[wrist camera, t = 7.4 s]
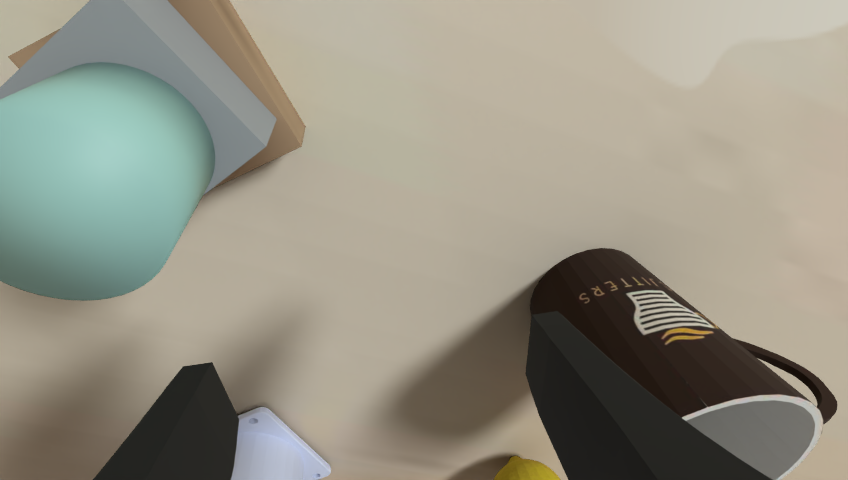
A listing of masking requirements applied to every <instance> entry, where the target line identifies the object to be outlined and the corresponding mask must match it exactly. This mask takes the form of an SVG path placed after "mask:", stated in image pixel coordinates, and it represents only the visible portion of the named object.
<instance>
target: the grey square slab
mask: <svg viewBox="0 0 848 480" xmlns="http://www.w3.org/2000/svg"><path fill="white" fill-rule="evenodd" d="M95 62H108V63H117V64H123V65H127V66H131V67H135V68H138V69H140V70H143V71H145V72H148V73H150V74H152V75H154V76H156V77H158V78H160V79H162V80H163V81H165V82H166V83H168V84H169V85H171V86H172V87H174V88H175V89H176V90H177V91H179V92H180V93H181V94H182V95H183V96H184V97H185V98H186V99H187V100H188V101H189V102H191V104H192V105H193V106H194V107H195V108H196V110H197V111H198V112H199V114H200V115H201V117H202V118H203V120H204V121H205V123H206V125H207V127H208V129H209V131H210V134H211V137H212V140H213V144H214V149H215V169H214V172H213V176H212V179H211V181H210V183H209V185H208V187H207V189H206V191H205V192H204V194H206V193H207V192H208V191H209V190H211V189H212V188H213V187H215V186H216V185H217V184H219V183H220V182H221V181H222V180H224V179H225V178H226V177H228V176H229V175H230V174H231V173H233V172H234V171H235V170H237V169H238V168H239V167H240V166H242V165H243V164H244V163H246V162H247V161H248V160H250V159H251V158H252V157H253V156H255V155H256V154H257V153H259V152H260V151H261V150H262V149H264V148H265V147H266V146H267V143H268V141H269V138H270V135H271V133H272V130H273V128H274V125H275V122H276V120H277V118H276V117H275V116H274V115H273V114H272V113H271V112H270V111H269V110H268V109H267V108H266V107H265V105H264V104H263V103H262V102H261V101H260V100H259V99H258V98H257V97H256V96H255V95H254V94H253V92H252V91H251V90H250V89H249V88H248V87H247V86H246V85H245V84H244V83H243V82H242V81H241V79H240V78H239V77H238V76H237V75H236V74H235V73H234V72H233V71H232V70H231V69H230V68H229V66H228V65H227V64H226V63H225V62H224V61H223V60H222V59H221V58H220V57H219V56H218V55H217V53H216V52H215V51H214V50H213V49H212V48H211V47H210V46H209V45H208V44H207V43H206V42H205V40H204V39H203V38H202V37H201V36H200V35H199V34H198V33H197V32H196V31H195V30H194V29H193V28H192V26H191V25H190V24H189V23H188V22H187V21H186V20H185V19H184V18H183V17H182V16H181V15H180V13H179V12H178V11H177V10H176V9H175V8H174V7H173V6H172V5H171V4H170V3H169V2H168V0H90V1H89V2H88V3H87V4H86V5H85V6H84V7H83V8H82V9H81V10H80V11H79V12H78V13H77V14H75V15H74V16H73V17H72V18H71V19H70V20H69V21H68V22H67V23H66V24H65V25H64V26H63V27H62V28H61V29H60V30H59V31H58V32H57V33H56V34H55V35H54V36H53V37H52V38H51V39H50V40H49V41H48V42H47V43H46V44H45V45H44V46H43V47H42V48H40V49H39V50H38V51H37V52H36V53H35V54H34V55H33V56H32V57H31V58H30V59H29V60H28V61H27V62H26V63H25V64H24V65H23V66H22V67H21V68H20V69H19V70H18V71H17V72H16V73H15V74H14V75H13V76H12V77H11V78H10V79H9V80H8V81H7V82H6V83H4V84H3V85H2V86H1V87H0V99H2V98H5V97H7V96H9V95H11V94H14V93H16V92H18V91H20V90H22V89H25V88H27V87H29V86H31V85H33V84H36V83H38V82H40V81H42V80H44V79H47V78H49V77H51V76H53V75H55V74H58V73H60V72H62V71H64V70H67V69H69V68H71V67H74V66H77V65H81V64H86V63H95ZM204 194H203V195H204Z"/></svg>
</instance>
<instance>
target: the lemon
mask: <svg viewBox="0 0 848 480" xmlns="http://www.w3.org/2000/svg"><path fill="white" fill-rule="evenodd" d="M494 480H560V478H559V477H558V476H557V475H556V474H555V472H554V471H552V470H551V469H550V468H549V467H547V466H546V465H544V464H542V463H540V462H538V461H534V460H530V459H522V458H520V457H518V456H513V457H511V458H510V460H509V462H508V464H507V465H505V466H504V467H503V468H502V469H501V470H500V471H499V472H498V473H497V475H496V476H495V478H494Z"/></svg>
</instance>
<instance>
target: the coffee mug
mask: <svg viewBox="0 0 848 480" xmlns="http://www.w3.org/2000/svg"><path fill="white" fill-rule="evenodd" d="M530 310H531V316H532V315H534V314H541V313H547V312H554V311H558V312H559V313H560V314H561V315H562V316H564V317H565V318H566V319H567V320H568V321H569V322H570V323H571V324H572V325H573V326H574V327H575V328H576V329H578V330H579V331H580V332H581V333H582V334H583V335H584V336H585V337H586V338H587V339H588V340H589V341H591V342H592V343H593V344H594V345H595V346H596V347H597V348H598V349H599V350H600V351H602V352H603V353H604V354H605V355H606V356H607V357H608V358H609V359H611V360H612V361H613V362H614V363H615V364H616V365H617V366H619V367H620V368H621V369H622V370H623V371H624V372H626V373H627V374H628V375H629V376H630V377H631V378H633V379H634V380H635V381H636V382H637V383H638V384H640V385H641V386H642V387H643V388H644V389H646V390H647V391H648V392H649V393H651V394H652V395H653V396H654V397H656V398H657V399H658V400H659V401H661V402H662V403H663V404H664V405H666V406H667V407H668V408H670V409H671V410H672V411H673V412H675V413H676V414H677V415H679V416H680V417H681V418H683V419H684V420H685V421H687V422H688V423H689V424H691V425H692V426H693V427H695V428H696V429H697V430H699V431H700V432H702V433H703V434H704V435H706V436H707V437H709V438H710V439H712V440H713V441H714V442H716V443H717V444H719V445H720V446H722V447H723V448H725V449H726V450H727V451H729V452H730V453H732V454H733V455H735V456H736V457H738V458H739V459H741V460H742V461H744V462H745V463H747V464H749V465H750V466H752V467H753V468H755V469H756V470H758V471H759V472H761V473H763V474H764V475H766V476H768V477H769V478H771V479H773V480H781V479H783V478H784V477H785V476H786V475H788V474H789V473H790V472H792V471H793V470H794V469H795V468H796V467H797V466H798V465H799V464H800V463H801V462H802V461H803V460H804V459H805V458H806V457H807V456H808V455H809V453H810V452H811V451H812V449H813V448H814V447H815V445H816V444H817V442H818V440H819V438H820V435H821V433H822V428H823V424H825V423H826V422H828V421H829V420H830V419H831V417H832V416H833V415H834V414H835V412H836V410H837V401H836V399H835V397H834V395H833V394H832V393H831V392H830V391H829V389H828V388H827V387H826V386H825V384H824V383H823V382H822V381H821V380H820V379H819V378H818V377H816V376H815V375H814V374H813V373H811V372H810V371H808V370H807V369H805V368H804V367H802V366H800V365H798V364H796V363H794V362H792V361H790V360H788V359H786V358H784V357H782V356H780V355H778V354H775V353H773V352H770V351H768V350H765V349H763V348H760V347H757V346H755V345H752V344H749V343H746V342H743V341H740V340H736V339H733V338H731V337H730V336H729V335H727V334H726V333H725V332H724V331H722V330H721V329H720V328H719V327H718V326H716V325H715V324H714V323H713V322H711V321H710V320H709V319H708V318H706V317H705V316H704V315H703V314H701V313H700V312H699V311H698V310H696V309H695V308H694V307H693V306H691V305H690V304H689V303H688V302H687V301H685V300H684V299H683V298H682V297H680V296H679V295H678V294H677V293H675V292H674V291H673V290H672V289H670V288H669V287H668V286H667V285H665V284H664V283H663V282H662V281H660V280H659V279H658V278H657V277H656V276H654V275H653V274H652V273H651V272H649V271H648V270H647V269H646V268H644V267H643V266H642V265H641V264H639V263H638V262H637V261H636V260H634V259H633V258H632V257H631V256H629V255H628V254H626V253H624V252H622V251H619V250H614V249H605V248H599V249H592V250H587V251H584V252H580V253H577V254H575V255H573V256H570V257H568V258H566V259H565V260H563V261H561V262H560V263H558V264H557V265H555V266H554V267H553V268H552V269H551V270H550V271H548V272H547V273H546V274H545V276H544V277H543V278H542V279H541V280H540V281H539V283H538V285H537V286H536V288H535V290H534V292H533V295H532V298H531V304H530ZM757 358H759V359H761V360H763V361H766V362H768V363H770V364H772V365H773V366H775V367H778V368H780V369H782V370H784V371H786V372H788V373H790V374H792V375H793V376H795V377H797V378H798V379H799V380H800V381H802V382H803V383H804V384H805V385H806V386H808V388H809V389H810V390H811V391H812V393H813V394H814V396H815V397H816V400H817V404H818V405H817V407H816V406H815V405H814V404H813V403H812V402H811V401H809V400H808V399H807V398H806V397H804V396H803V395H802V394H801V393H799V392H798V391H797V390H796V389H794V388H793V387H792V386H791V385H789V384H788V383H787V382H786V381H784V380H783V379H782V378H781V377H780V376H778V375H777V374H776V373H775V372H773V371H772V370H771V369H770V368H768V367H767V366H766V365H765V364H763V363H762V362H761V361H760V360H758V359H757Z"/></svg>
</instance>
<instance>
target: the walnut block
mask: <svg viewBox="0 0 848 480" xmlns="http://www.w3.org/2000/svg"><path fill="white" fill-rule="evenodd" d="M168 2H169V3H170V4H171V5H172V6H173V7H174V8H175V9H176V10H177V11H178V12H179V13H180V15H181V16H182V17H183V18H184V19H185V20H186V21H187V22H188V23H189V24H190V25H191V26H192V28H193V29H194V30H195V31H196V32H197V33H198V34H199V35H200V36H201V37H202V38H203V39H204V40H205V42H206V43H207V44H208V45H209V46H210V47H211V48H212V49H213V50H214V51H215V52H216V53H217V55H218V56H219V57H220V58H221V59H222V60H223V61H224V62H225V63H226V64H227V65H228V66H229V68H230V69H231V70H232V71H233V72H234V73H235V74H236V75H237V76H238V77H239V78H240V79H241V81H242V82H243V83H244V84H245V85H246V86H247V87H248V88H249V89H250V90H251V91H252V92H253V94H254V95H255V96H256V97H257V98H258V99H259V100H260V101H261V102H262V103H263V104H264V105H265V107H266V108H267V109H268V110H269V111H270V112H271V113H272V114H273V115H274V116H275V117H276V118H277V120H276V122H275V125H274V128H273V130H272V133H271V135H270V138H269V141H268V143H267V146H266V147H265V148H264V149H262V150H261V151H260V152H259V153H257V154H256V155H255V156H253V157H252V158H251V159H250V160H248V161H247V162H246V163H244V164H243V165H242V166H240V167H239V168H238V169H237V170H235V171H234V172H233V173H231V174H230V175H229V176H228V177H226V178H225V179H224V180H222V181H221V182H220V183H219V184H217V185H216V186H215V187H217V186H219V185H221V184H223V183H226V182H228V181H230V180H232V179H234V178H236V177H238V176H240V175H242V174H244V173H247V172H249V171H251V170H253V169H255V168H257V167H259V166H261V165H263V164H265V163H268V162H270V161H272V160H274V159H276V158H278V157H280V156H282V155H284V154H287V153H289V152H291V151H293V150H295V149H297V148H299V147H301V146H302V142H303V137H304V132H305V127H306V126H305V125H304V123H303V122H302V120H301V118H300V117H299V115H298V113H297V112H296V110H295V108H294V107H293V105H292V103H291V102H290V100H289V98H288V97H287V95H286V93H285V92H284V90H283V88H282V87H281V85H280V83H279V82H278V80H277V78H276V77H275V75H274V73H273V72H272V70H271V68H270V67H269V65H268V64H267V62H266V60H265V59H264V57H263V55H262V54H261V52H260V50H259V49H258V47H257V45H256V44H255V42H254V40H253V39H252V37H251V35H250V34H249V32H248V30H247V29H246V27H245V25H244V24H243V22H242V20H241V19H240V17H239V15H238V14H237V12H236V10H235V9H234V7H233V6H232V4H231V2H230V1H229V0H168ZM59 30H60V29H59ZM59 30H57V31H55V32H53V33H51V34H49V35H48V36H46V37H44V38H42V39H40V40H38V41H36V42H35V43H33V44H31V45H29V46H27V47H25V48H23V49H21V50H20V51H18V52H16V53H14V54H12V55H10V56H8V57H9V58H10V59H11V61H12V62H13V63H14V64H15V65H16V66H17V67H18V68H19V69H20V68H21V67H22V66H23V65H24V64H25V63H26V62H27V61H28V60H29V59H30V58H31V57H32V56H33V55H34V54H35V53H36V52H37V51H38V50H39V49H40V48H42V47H43V46H44V45H45V44H46V43H47V42H48V41H49V40H50V39H51V38H52V37H53V36H54V35H55V34H56V33H57V32H58V31H59ZM215 187H213V188H215ZM213 188H212V189H213Z"/></svg>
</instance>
